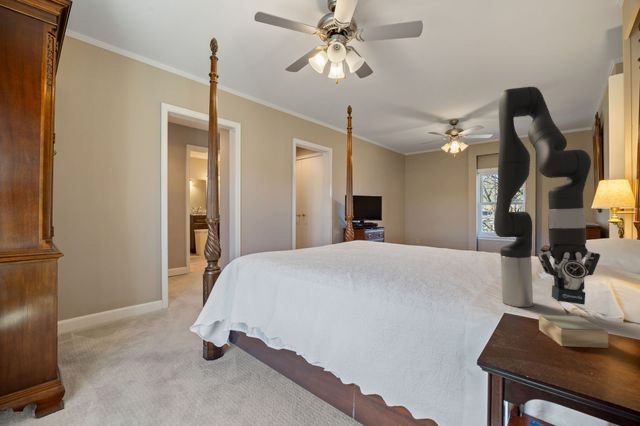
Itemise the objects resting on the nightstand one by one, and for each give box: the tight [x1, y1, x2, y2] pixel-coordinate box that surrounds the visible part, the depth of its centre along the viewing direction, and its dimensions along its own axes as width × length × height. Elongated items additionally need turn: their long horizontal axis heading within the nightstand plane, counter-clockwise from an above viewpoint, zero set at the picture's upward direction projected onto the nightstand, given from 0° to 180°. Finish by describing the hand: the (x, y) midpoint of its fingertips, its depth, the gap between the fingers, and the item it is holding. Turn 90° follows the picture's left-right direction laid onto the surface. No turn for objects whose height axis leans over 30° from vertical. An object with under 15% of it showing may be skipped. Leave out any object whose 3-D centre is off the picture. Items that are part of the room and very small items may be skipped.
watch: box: [551, 261, 588, 306], centre depth 76 cm, size 6×8×11 cm
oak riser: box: [538, 314, 609, 349], centre depth 76 cm, size 10×10×4 cm
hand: (569, 290), depth 76 cm, fingers closed on watch, 3 cm apart
